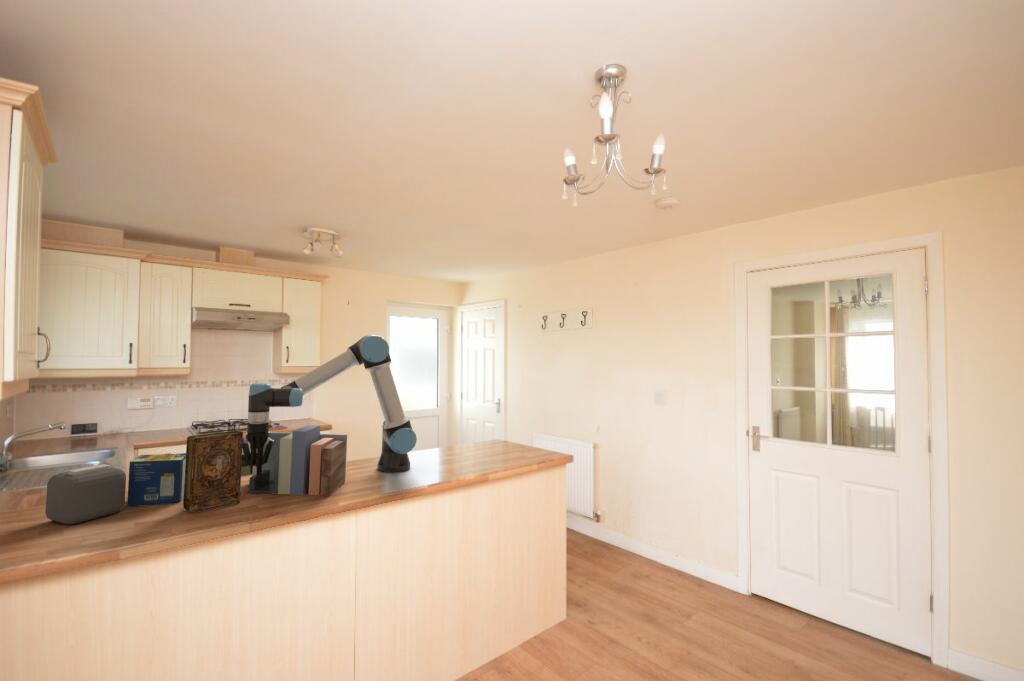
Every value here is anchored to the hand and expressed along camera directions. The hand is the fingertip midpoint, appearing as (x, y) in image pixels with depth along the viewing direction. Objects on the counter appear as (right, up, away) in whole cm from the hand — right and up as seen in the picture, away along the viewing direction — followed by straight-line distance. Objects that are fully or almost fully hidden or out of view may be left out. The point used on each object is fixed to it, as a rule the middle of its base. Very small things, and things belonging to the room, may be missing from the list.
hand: (255, 481), depth 184 cm
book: (-2, -2, -23) cm, 23 cm away
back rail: (+14, -3, +10) cm, 17 cm away
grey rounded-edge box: (-34, -1, -36) cm, 49 cm away
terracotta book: (+26, -3, +1) cm, 26 cm away
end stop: (+30, -3, +1) cm, 30 cm away
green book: (+14, -3, 0) cm, 15 cm away
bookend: (+6, -2, 0) cm, 7 cm away
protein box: (-24, -1, -19) cm, 31 cm away
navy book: (+19, -3, +1) cm, 19 cm away
